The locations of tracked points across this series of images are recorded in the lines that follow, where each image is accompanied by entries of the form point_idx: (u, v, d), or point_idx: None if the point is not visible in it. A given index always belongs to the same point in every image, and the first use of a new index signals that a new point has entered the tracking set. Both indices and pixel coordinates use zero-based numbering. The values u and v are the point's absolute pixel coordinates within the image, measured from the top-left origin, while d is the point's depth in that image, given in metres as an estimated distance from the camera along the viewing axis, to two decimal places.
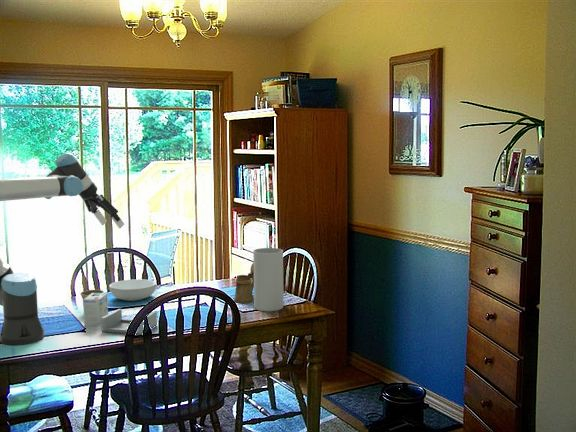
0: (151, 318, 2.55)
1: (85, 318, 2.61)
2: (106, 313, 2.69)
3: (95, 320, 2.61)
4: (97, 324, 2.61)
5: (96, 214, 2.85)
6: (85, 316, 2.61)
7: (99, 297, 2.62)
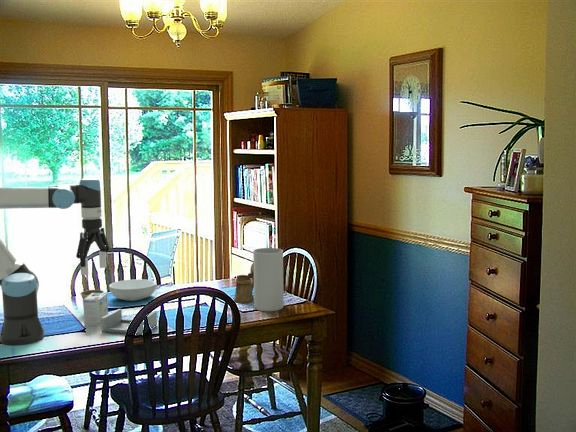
0: (151, 318, 2.55)
1: (85, 318, 2.61)
2: (106, 313, 2.69)
3: (95, 320, 2.61)
4: (97, 324, 2.61)
5: (100, 253, 2.69)
6: (85, 316, 2.61)
7: (99, 297, 2.62)
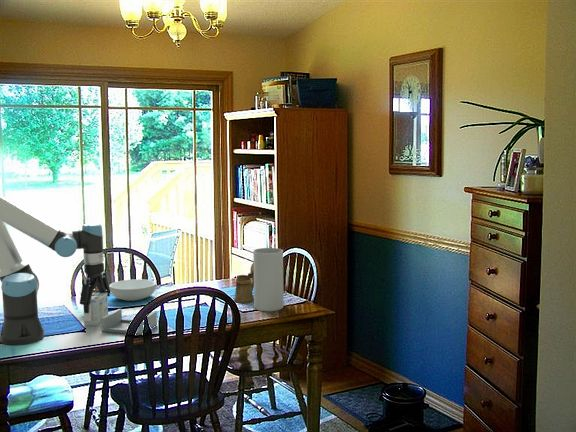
0: (151, 318, 2.55)
1: None
2: (106, 313, 2.69)
3: (95, 320, 2.61)
4: (97, 324, 2.61)
5: None
6: None
7: (99, 297, 2.62)
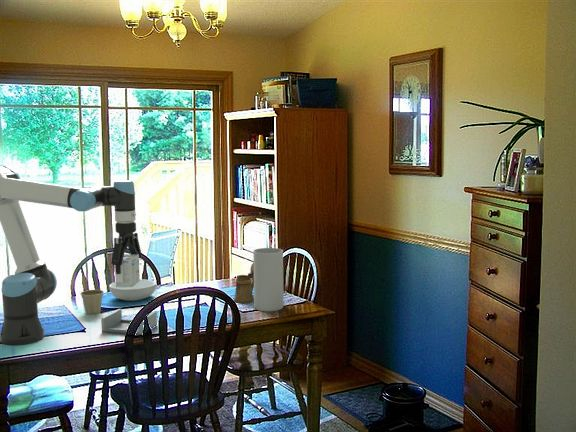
0: (151, 318, 2.55)
1: None
2: (138, 275, 2.56)
3: (128, 282, 2.48)
4: (129, 286, 2.48)
5: None
6: None
7: (131, 258, 2.49)
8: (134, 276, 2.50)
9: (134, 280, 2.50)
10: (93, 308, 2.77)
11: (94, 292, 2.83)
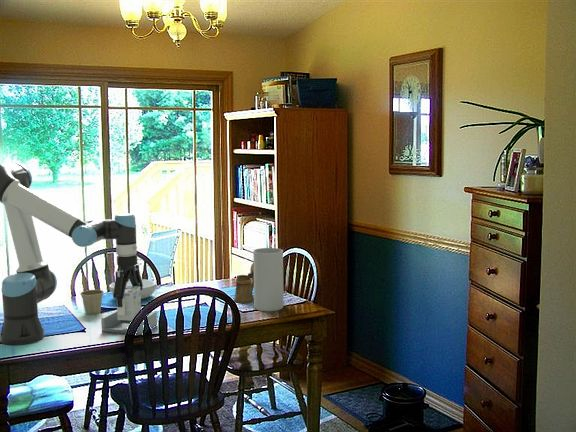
0: (151, 318, 2.55)
1: None
2: (139, 307, 2.57)
3: (129, 314, 2.49)
4: (131, 318, 2.50)
5: None
6: None
7: (133, 290, 2.51)
8: (136, 308, 2.52)
9: (136, 312, 2.52)
10: (93, 308, 2.77)
11: (94, 292, 2.83)
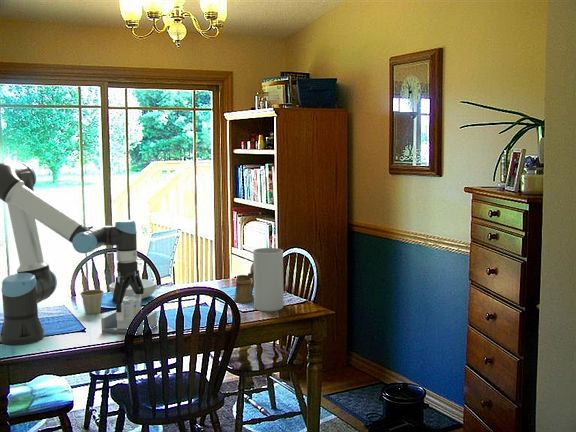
0: (151, 318, 2.55)
1: (118, 321, 2.50)
2: None
3: (129, 323, 2.50)
4: None
5: (135, 296, 2.61)
6: None
7: (133, 299, 2.52)
8: None
9: None
10: (93, 308, 2.77)
11: (94, 292, 2.83)
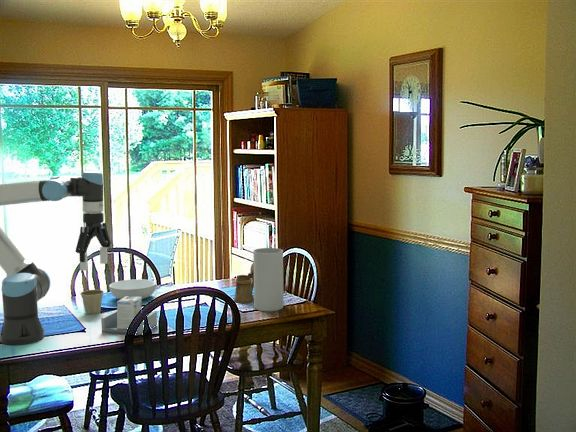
0: (151, 318, 2.55)
1: (118, 321, 2.50)
2: None
3: (129, 323, 2.50)
4: None
5: (101, 249, 2.62)
6: (118, 319, 2.50)
7: (134, 299, 2.52)
8: None
9: None
10: (93, 308, 2.77)
11: (94, 292, 2.83)
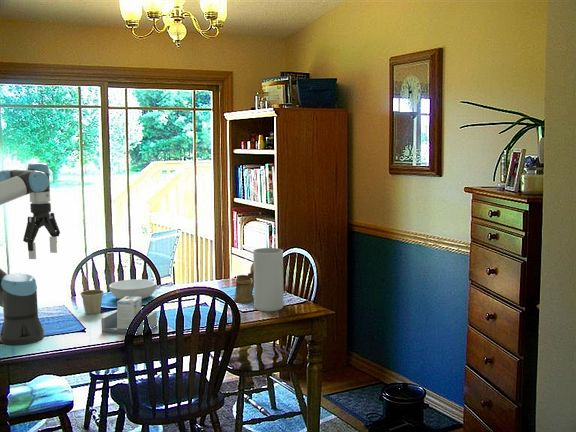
0: (151, 318, 2.55)
1: (118, 321, 2.50)
2: None
3: (129, 323, 2.50)
4: None
5: (50, 238, 2.70)
6: (118, 319, 2.50)
7: (134, 299, 2.52)
8: None
9: None
10: (93, 308, 2.77)
11: (94, 292, 2.83)
